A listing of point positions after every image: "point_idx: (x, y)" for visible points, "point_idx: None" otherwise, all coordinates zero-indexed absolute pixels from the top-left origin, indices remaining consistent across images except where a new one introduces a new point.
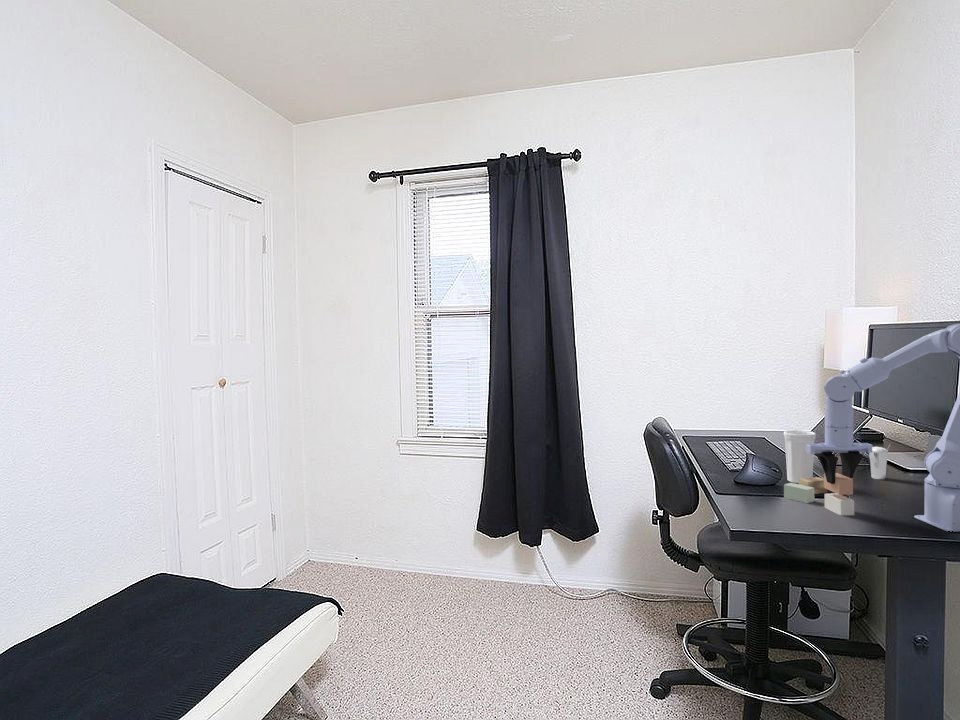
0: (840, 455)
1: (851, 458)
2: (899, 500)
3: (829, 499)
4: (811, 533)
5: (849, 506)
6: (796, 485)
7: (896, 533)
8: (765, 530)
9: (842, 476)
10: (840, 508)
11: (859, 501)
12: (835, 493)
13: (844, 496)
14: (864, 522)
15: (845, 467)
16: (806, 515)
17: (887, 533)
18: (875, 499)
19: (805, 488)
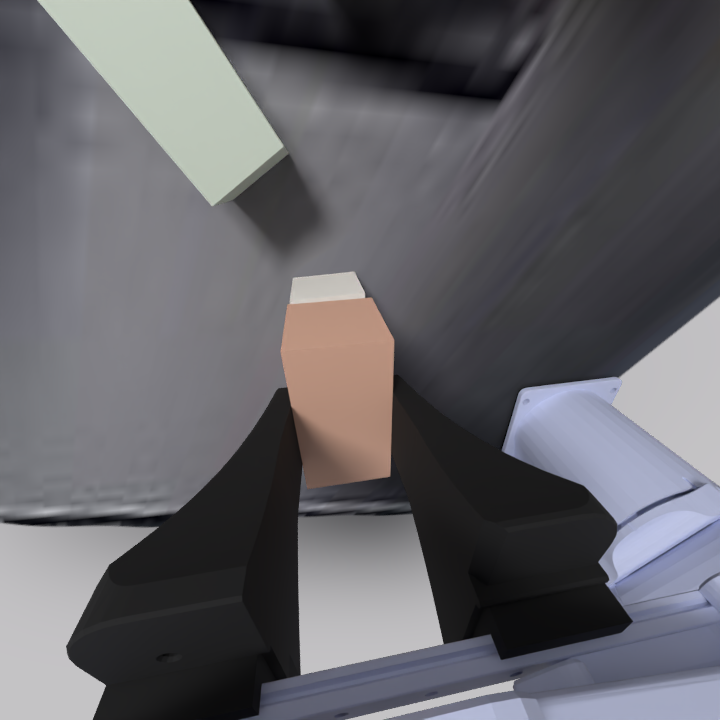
0: (463, 505)
1: (443, 613)
2: (692, 167)
3: None
4: (154, 512)
5: None
6: (152, 46)
7: (376, 488)
8: (8, 511)
9: (367, 432)
10: None
11: (513, 175)
12: (351, 296)
13: None
14: None
15: (415, 465)
16: (177, 379)
17: (355, 490)
18: (614, 140)
19: (208, 167)
